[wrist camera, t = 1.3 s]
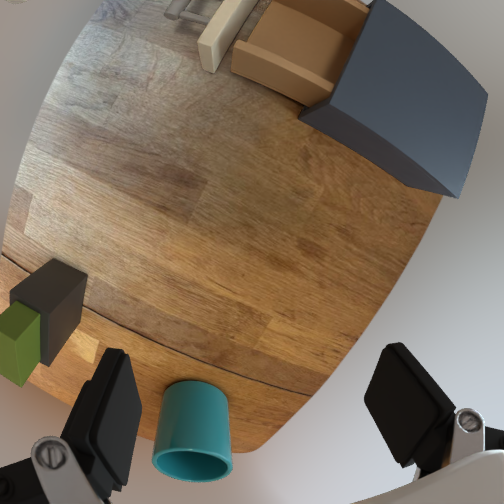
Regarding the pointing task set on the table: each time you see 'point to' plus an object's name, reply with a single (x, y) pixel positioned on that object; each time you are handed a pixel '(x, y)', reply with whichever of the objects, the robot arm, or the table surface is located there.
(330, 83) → the drawer
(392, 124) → the cabinet
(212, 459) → the cup
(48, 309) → the dark gray block
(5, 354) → the olive green block
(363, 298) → the table surface
